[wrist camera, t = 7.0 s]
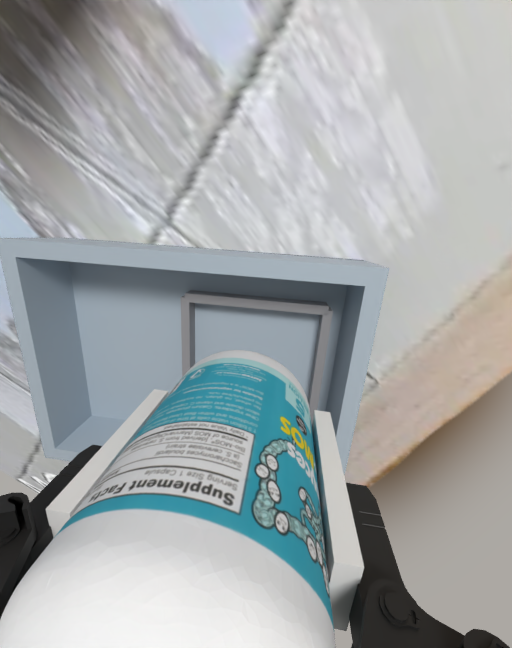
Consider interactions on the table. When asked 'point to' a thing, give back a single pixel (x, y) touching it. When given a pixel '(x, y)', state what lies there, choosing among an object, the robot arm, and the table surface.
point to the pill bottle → (193, 528)
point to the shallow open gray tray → (180, 327)
